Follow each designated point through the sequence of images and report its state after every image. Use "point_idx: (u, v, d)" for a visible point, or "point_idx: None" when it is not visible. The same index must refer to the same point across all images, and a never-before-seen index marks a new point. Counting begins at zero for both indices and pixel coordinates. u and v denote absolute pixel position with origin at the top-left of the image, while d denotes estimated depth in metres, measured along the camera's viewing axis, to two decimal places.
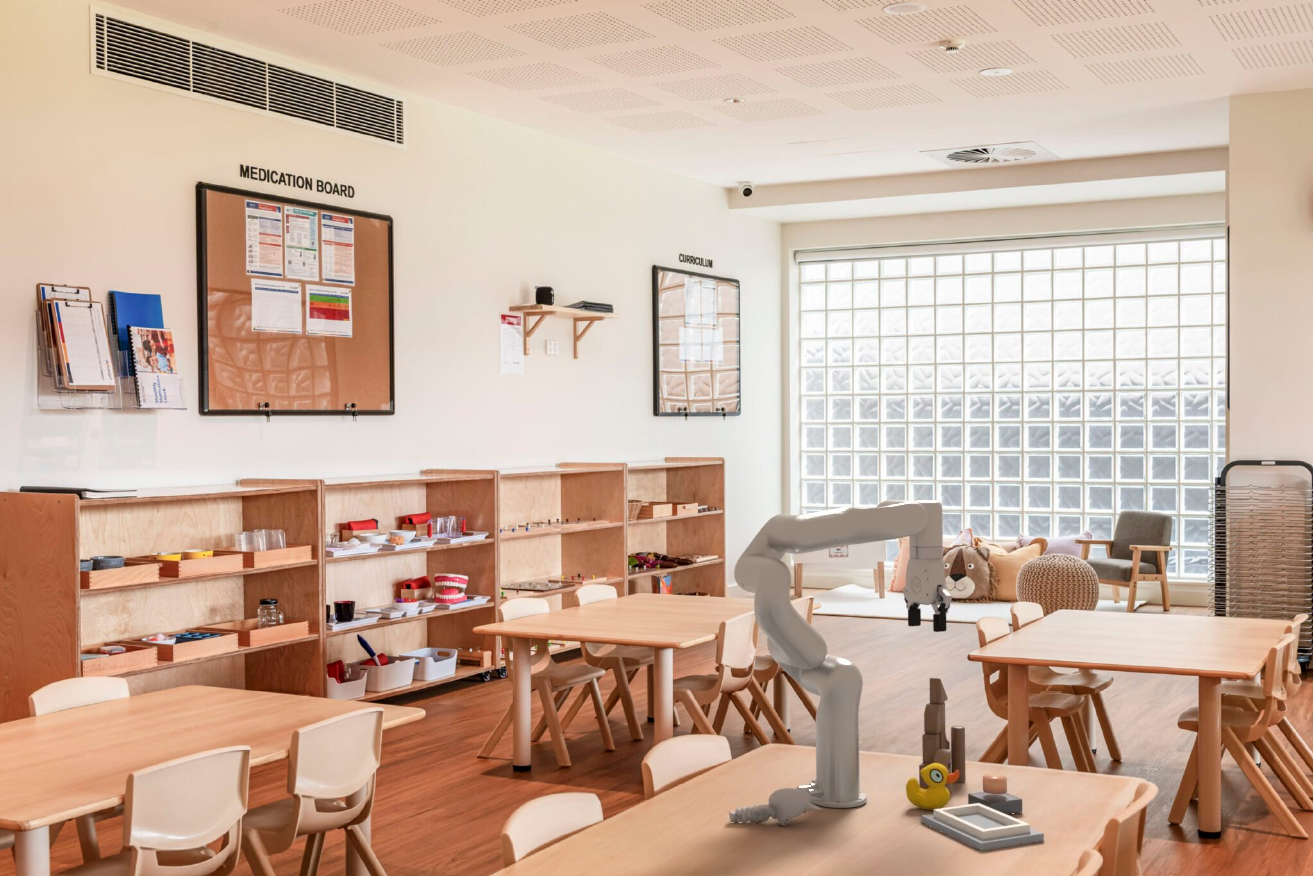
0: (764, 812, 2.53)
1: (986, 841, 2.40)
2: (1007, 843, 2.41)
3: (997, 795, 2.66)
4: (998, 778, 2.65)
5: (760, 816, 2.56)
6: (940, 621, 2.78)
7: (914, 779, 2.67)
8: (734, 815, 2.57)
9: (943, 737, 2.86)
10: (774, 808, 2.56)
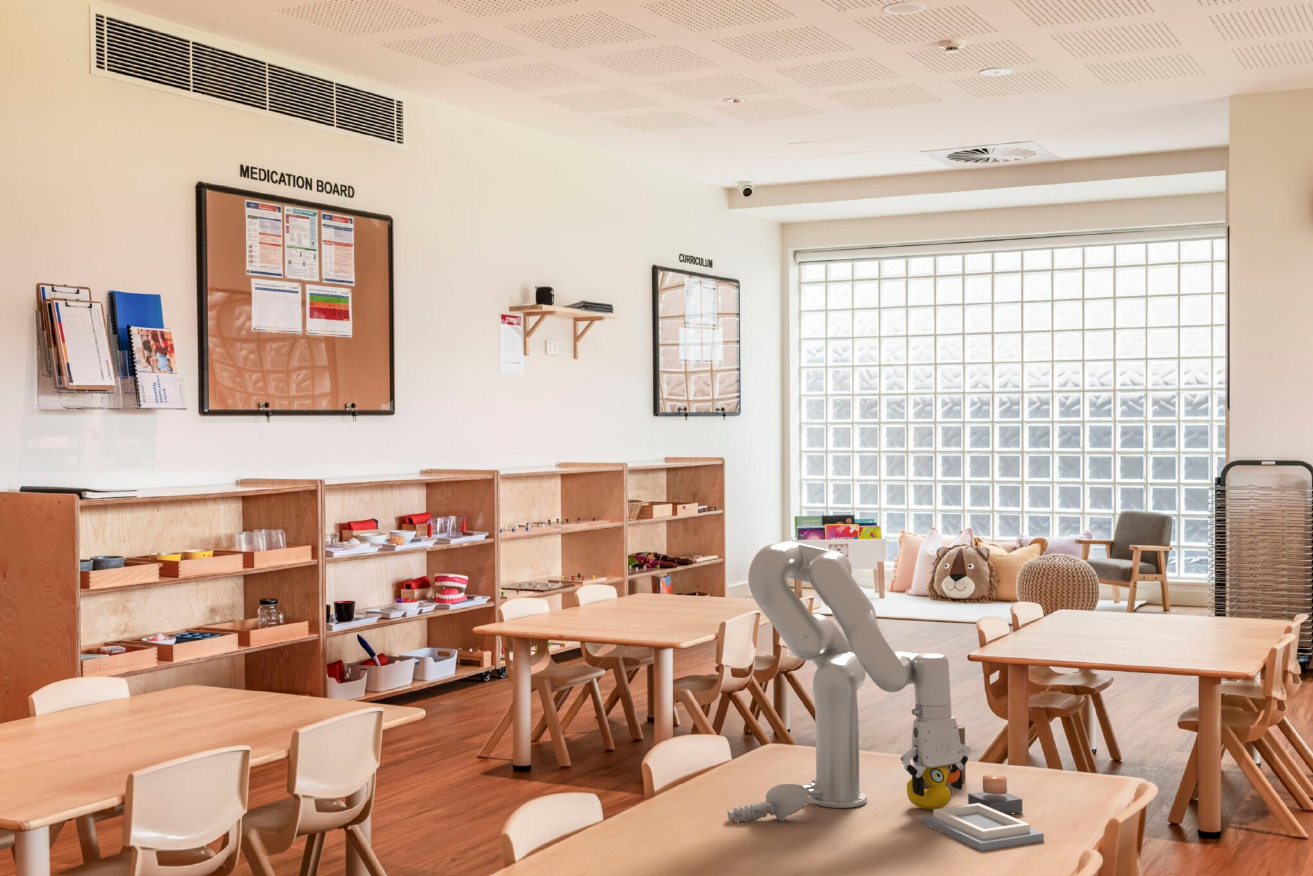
0: (767, 809, 2.55)
1: (986, 841, 2.40)
2: (1007, 843, 2.41)
3: (997, 795, 2.66)
4: (998, 778, 2.65)
5: (759, 813, 2.58)
6: None
7: None
8: (734, 814, 2.58)
9: None
10: (774, 805, 2.58)
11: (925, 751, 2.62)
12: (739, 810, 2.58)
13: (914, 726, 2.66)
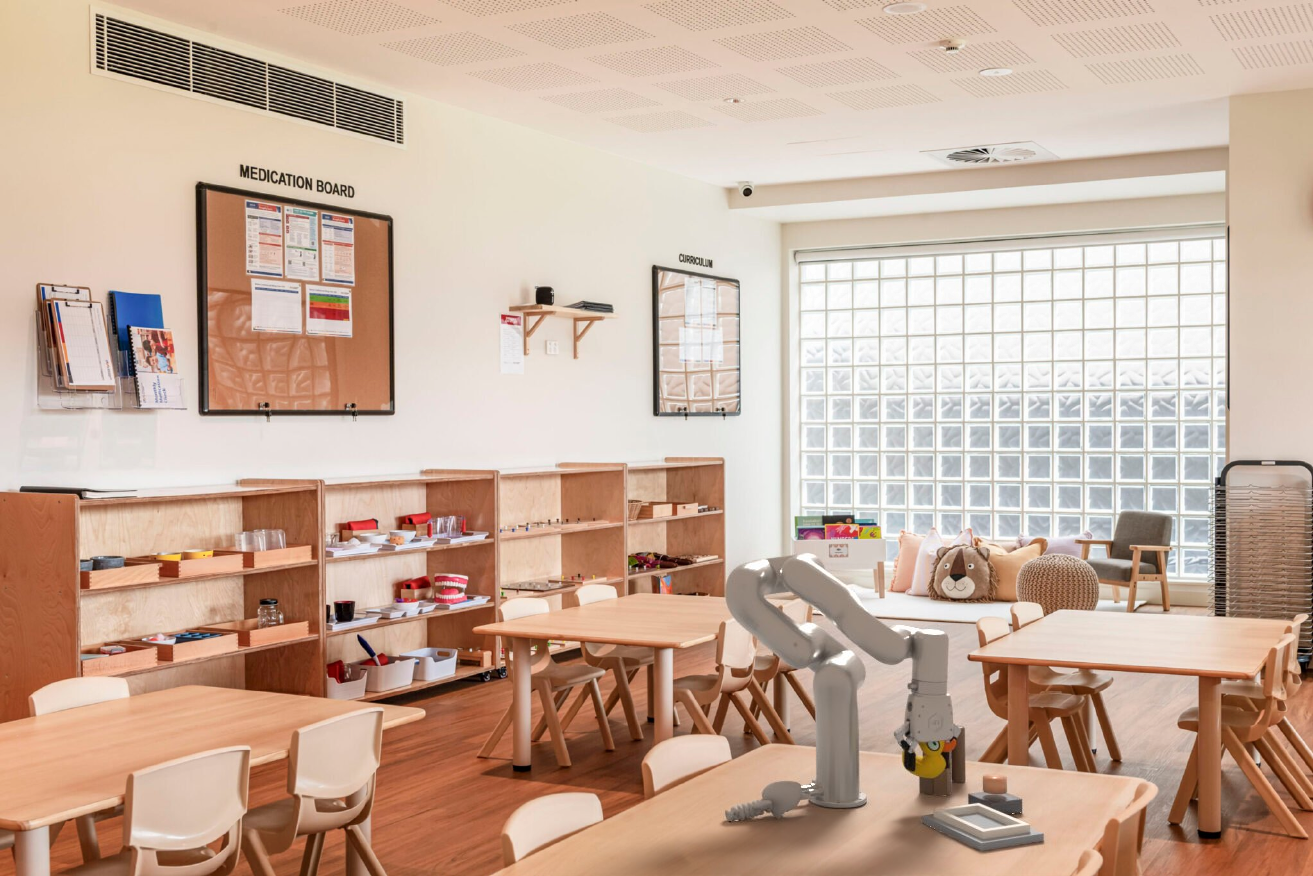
0: (768, 807, 2.57)
1: (986, 841, 2.40)
2: (1007, 843, 2.41)
3: (997, 795, 2.66)
4: (998, 778, 2.65)
5: (757, 812, 2.60)
6: None
7: None
8: (733, 814, 2.58)
9: None
10: (771, 802, 2.60)
11: (917, 726, 2.63)
12: (738, 809, 2.59)
13: (909, 700, 2.66)
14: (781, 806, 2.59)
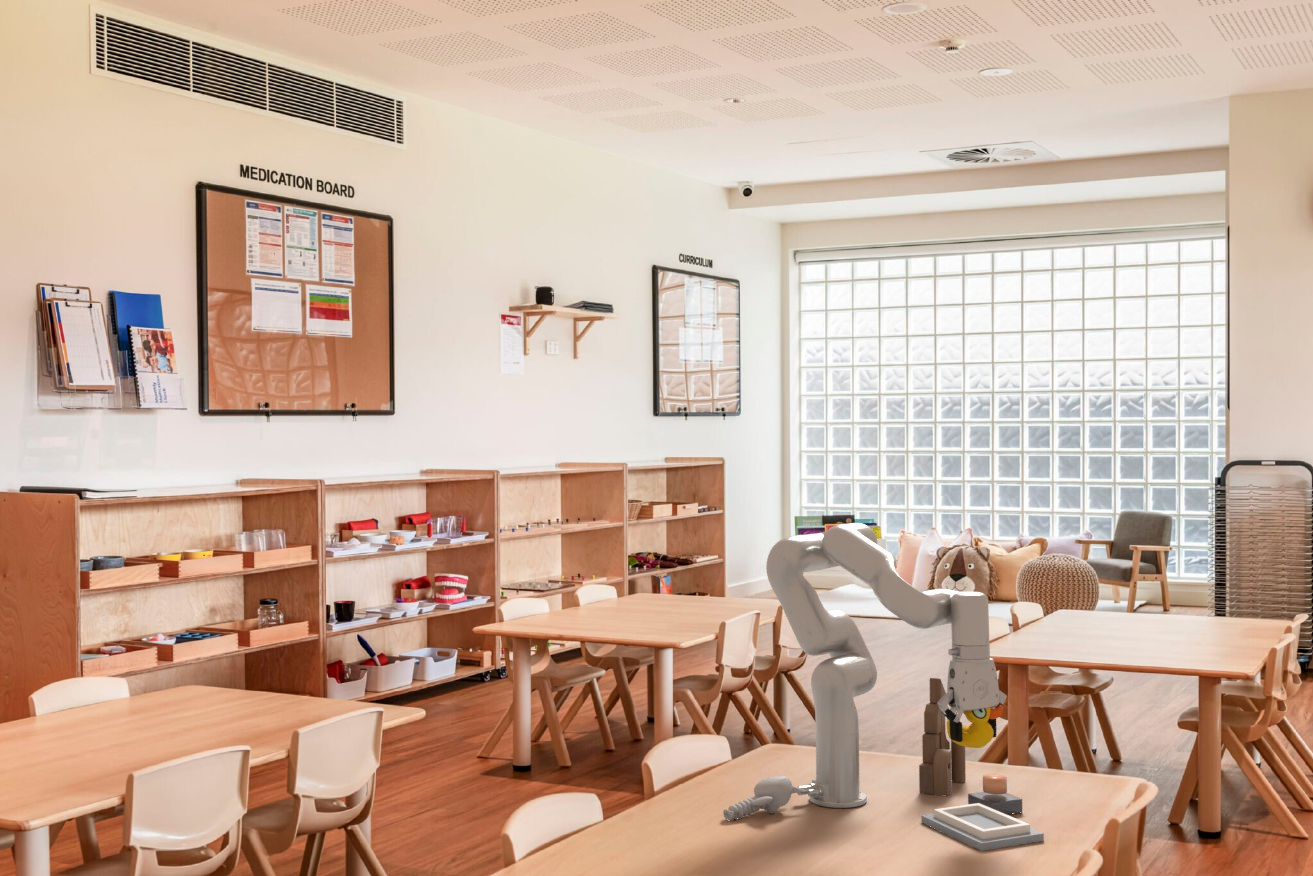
0: (768, 803, 2.60)
1: (986, 841, 2.40)
2: (1007, 843, 2.41)
3: (997, 795, 2.66)
4: (998, 778, 2.65)
5: (755, 808, 2.62)
6: None
7: None
8: (733, 812, 2.59)
9: (943, 737, 2.86)
10: None
11: (962, 693, 2.50)
12: (737, 808, 2.60)
13: (950, 667, 2.53)
14: (777, 801, 2.63)
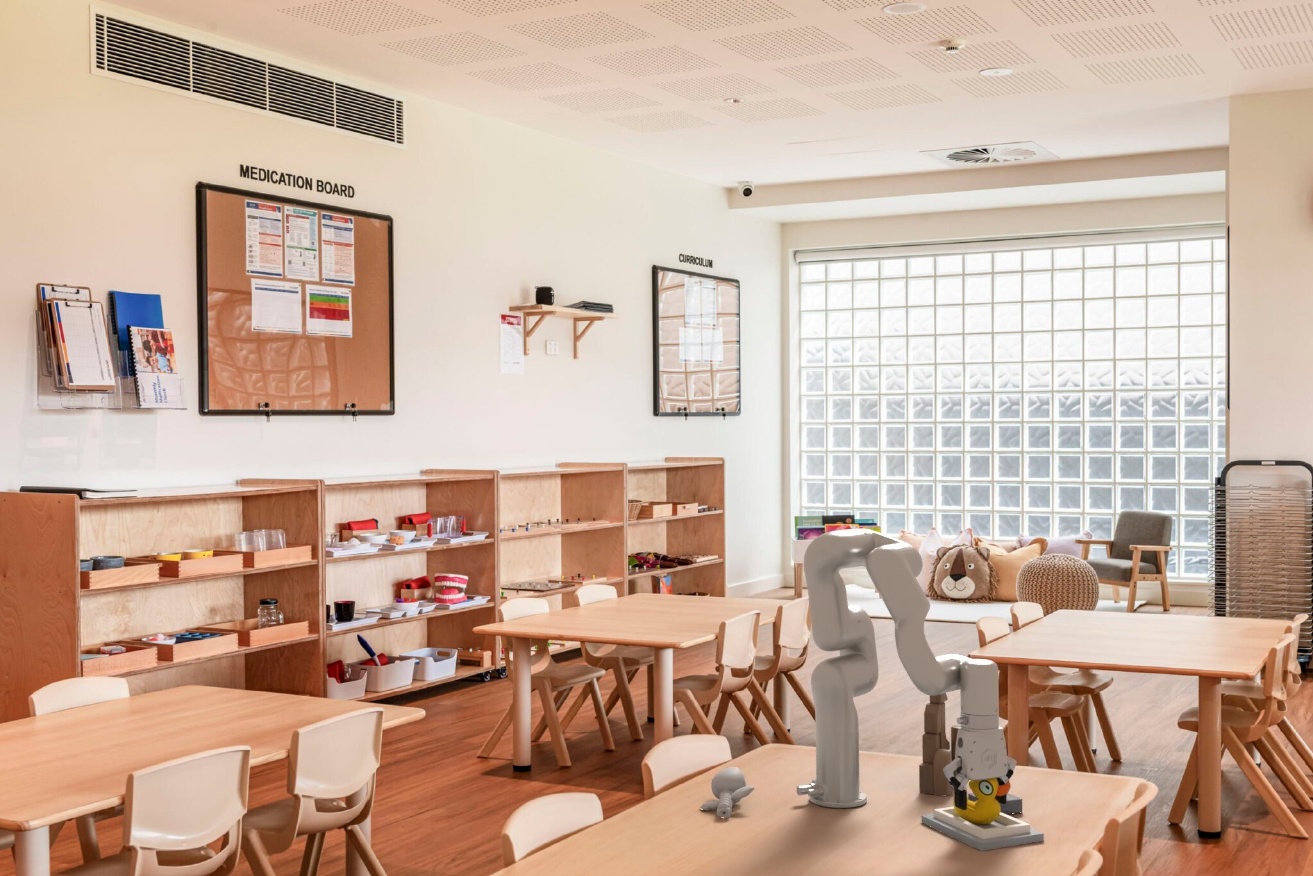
0: None
1: (986, 841, 2.40)
2: (1007, 843, 2.41)
3: None
4: None
5: (732, 802, 2.67)
6: None
7: None
8: None
9: (943, 737, 2.86)
10: (735, 789, 2.70)
11: (970, 763, 2.47)
12: (729, 804, 2.63)
13: (959, 735, 2.50)
14: None
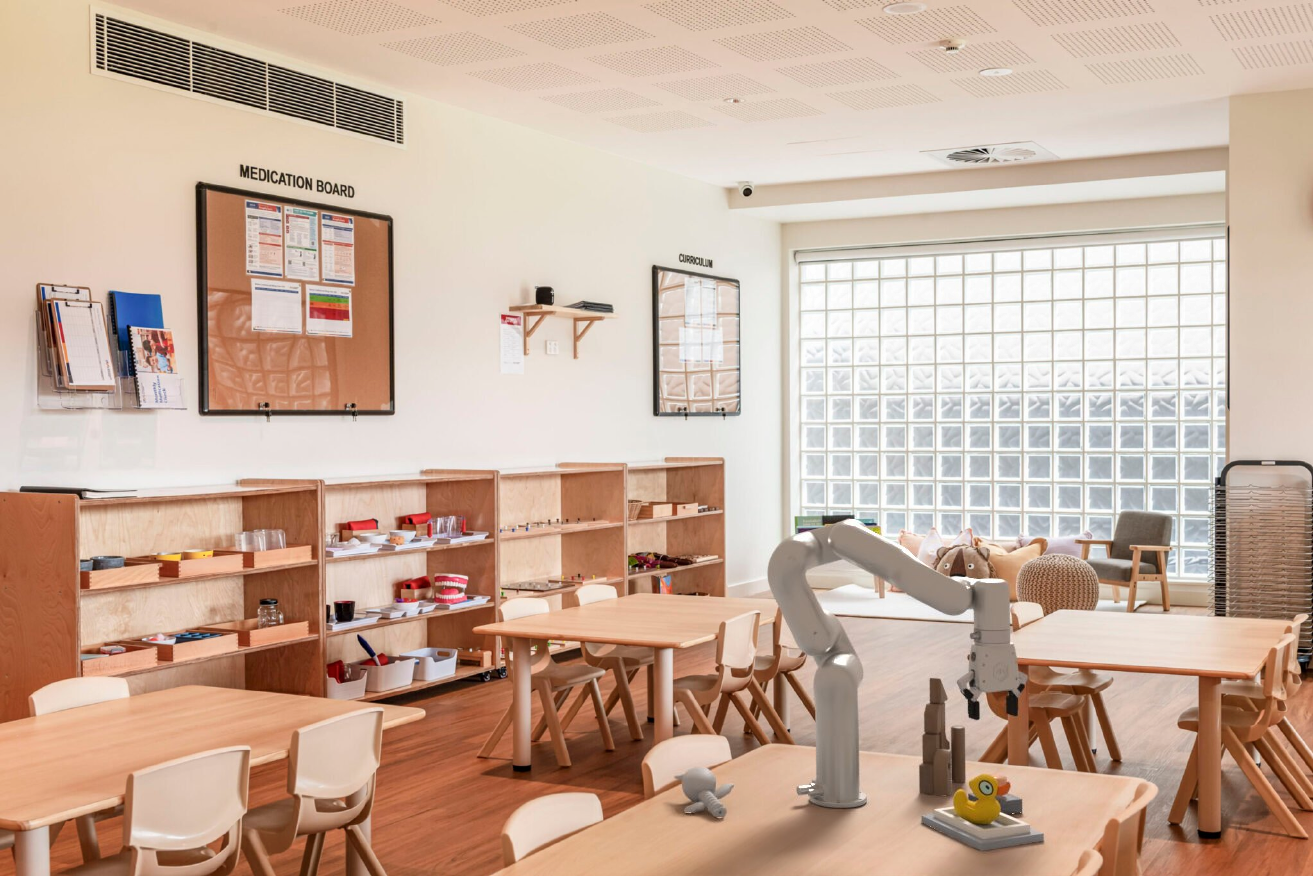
0: None
1: (986, 841, 2.40)
2: (1007, 843, 2.41)
3: None
4: (998, 778, 2.65)
5: None
6: None
7: (962, 791, 2.52)
8: None
9: (943, 737, 2.86)
10: (712, 789, 2.71)
11: (982, 675, 2.61)
12: None
13: (972, 650, 2.64)
14: None
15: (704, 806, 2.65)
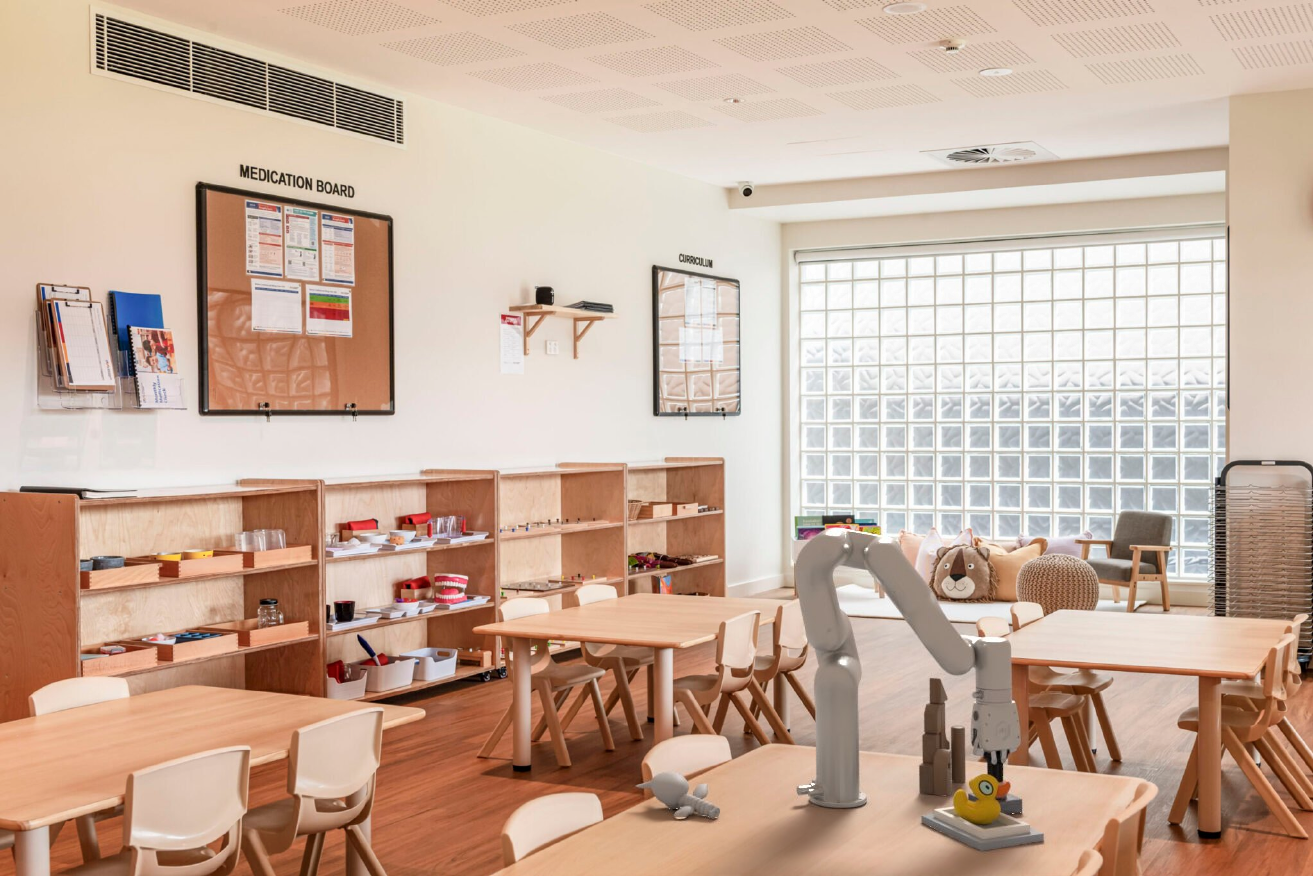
0: None
1: (986, 841, 2.40)
2: (1007, 843, 2.41)
3: None
4: (998, 782, 2.65)
5: None
6: None
7: (962, 791, 2.52)
8: None
9: (943, 737, 2.86)
10: None
11: (985, 734, 2.62)
12: None
13: (974, 709, 2.65)
14: None
15: (693, 809, 2.63)
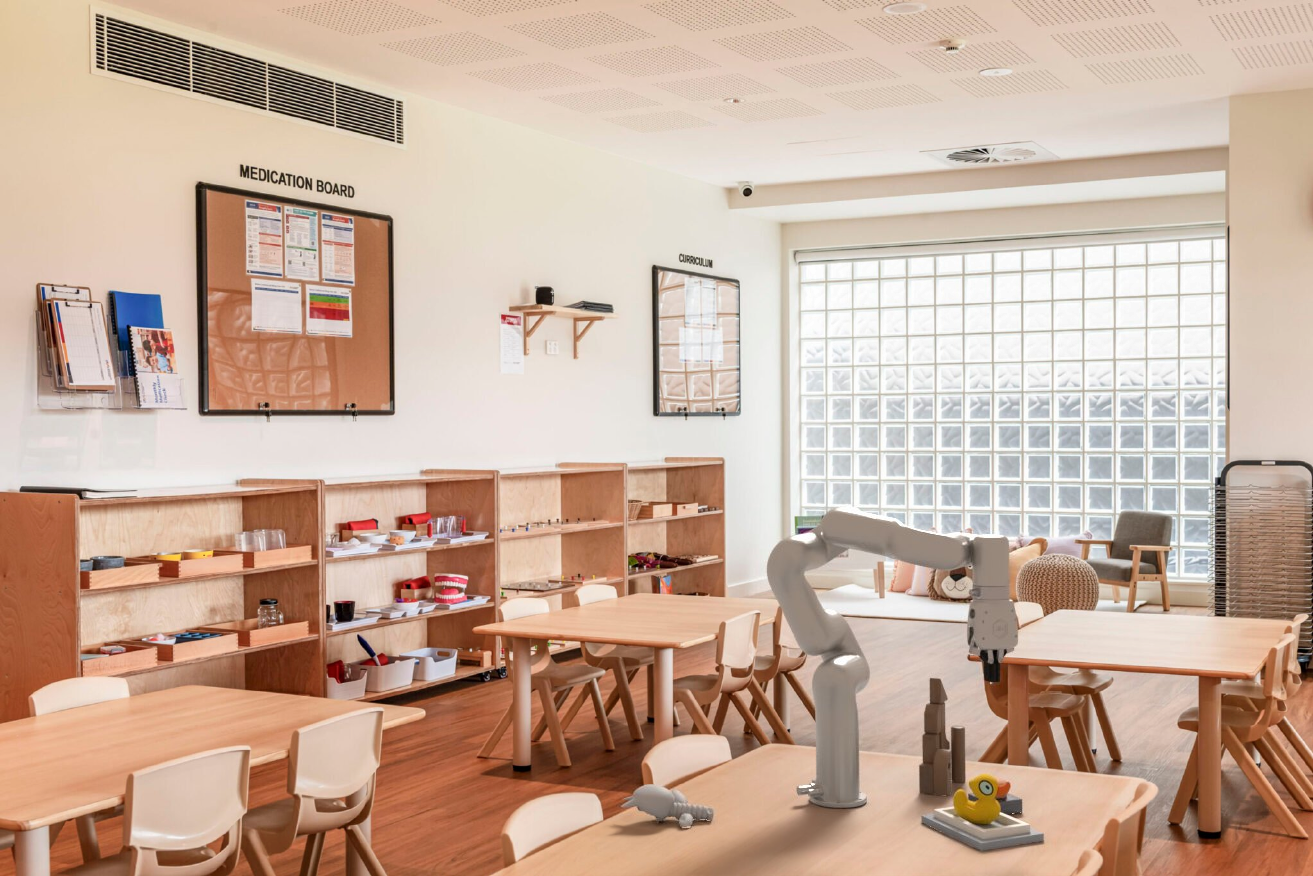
0: None
1: (986, 841, 2.40)
2: (1007, 843, 2.41)
3: None
4: (998, 782, 2.65)
5: None
6: None
7: (962, 791, 2.52)
8: None
9: (943, 737, 2.86)
10: None
11: (982, 632, 2.55)
12: None
13: (971, 607, 2.58)
14: None
15: None
